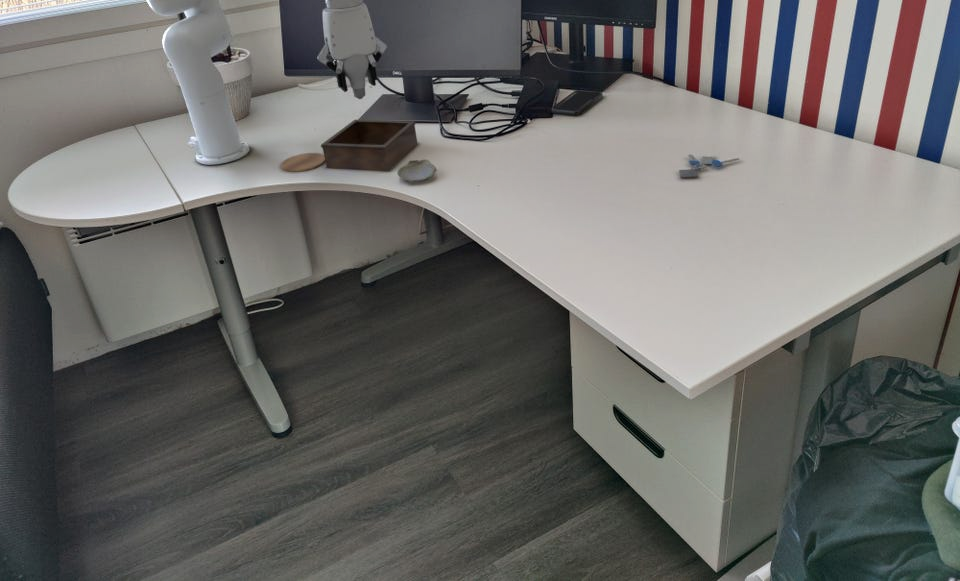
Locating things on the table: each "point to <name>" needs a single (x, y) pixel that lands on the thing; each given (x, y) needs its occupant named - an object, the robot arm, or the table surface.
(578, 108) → the phone
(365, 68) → the lightbulb
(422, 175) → the seashell
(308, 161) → the coaster
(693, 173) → the key chain
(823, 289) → the table surface
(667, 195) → the table surface
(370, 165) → the wooden frame
